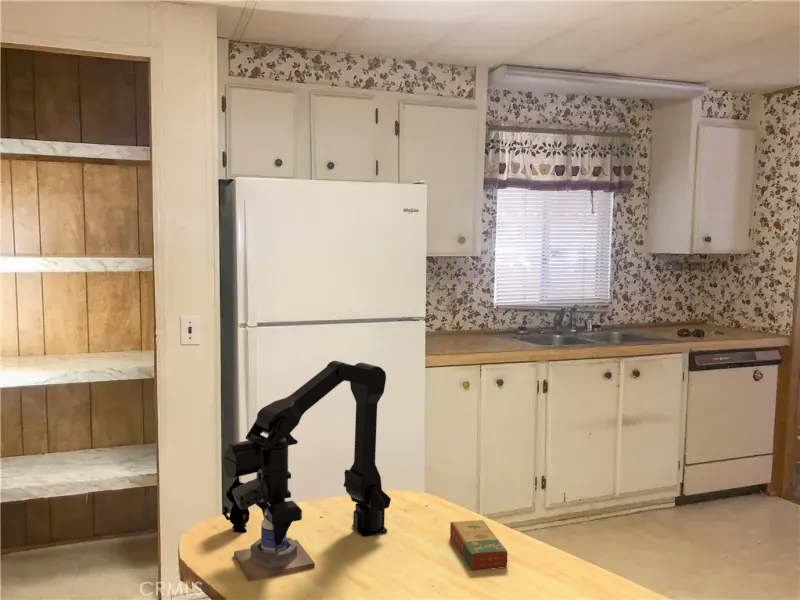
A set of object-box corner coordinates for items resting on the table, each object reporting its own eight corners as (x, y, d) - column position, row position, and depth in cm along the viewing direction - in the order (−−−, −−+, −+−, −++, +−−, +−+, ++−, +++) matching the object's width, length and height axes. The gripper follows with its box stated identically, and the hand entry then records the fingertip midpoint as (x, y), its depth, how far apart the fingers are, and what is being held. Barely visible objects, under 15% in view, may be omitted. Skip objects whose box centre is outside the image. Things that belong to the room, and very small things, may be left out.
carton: (483, 536, 158) (484, 518, 158) (508, 569, 143) (509, 550, 142) (449, 538, 157) (449, 520, 156) (470, 572, 141) (471, 552, 141)
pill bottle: (281, 557, 140) (281, 516, 139) (257, 555, 141) (257, 513, 140) (290, 546, 145) (290, 506, 144) (267, 543, 146) (267, 504, 145)
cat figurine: (253, 534, 156) (253, 483, 155) (222, 536, 154) (222, 485, 153) (252, 521, 163) (253, 473, 162) (223, 523, 161) (223, 474, 160)
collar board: (296, 543, 152) (296, 528, 151) (314, 567, 141) (314, 551, 141) (234, 555, 145) (234, 540, 145) (248, 581, 135) (248, 564, 134)
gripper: (225, 458, 146) (225, 528, 147) (247, 488, 129) (247, 566, 131) (275, 452, 151) (275, 519, 152) (303, 479, 134) (302, 555, 136)
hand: (274, 539), depth 143 cm, fingers closed on pill bottle, 5 cm apart
